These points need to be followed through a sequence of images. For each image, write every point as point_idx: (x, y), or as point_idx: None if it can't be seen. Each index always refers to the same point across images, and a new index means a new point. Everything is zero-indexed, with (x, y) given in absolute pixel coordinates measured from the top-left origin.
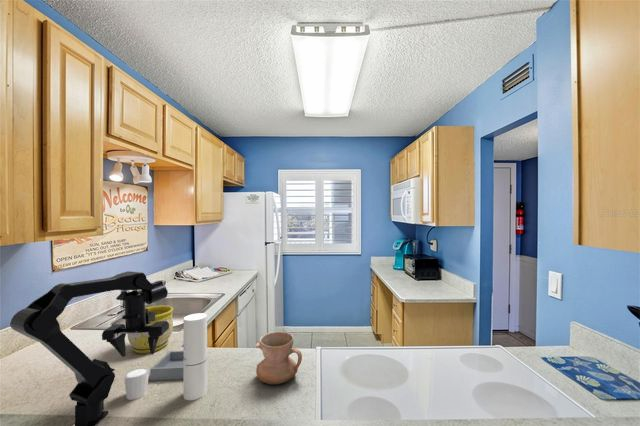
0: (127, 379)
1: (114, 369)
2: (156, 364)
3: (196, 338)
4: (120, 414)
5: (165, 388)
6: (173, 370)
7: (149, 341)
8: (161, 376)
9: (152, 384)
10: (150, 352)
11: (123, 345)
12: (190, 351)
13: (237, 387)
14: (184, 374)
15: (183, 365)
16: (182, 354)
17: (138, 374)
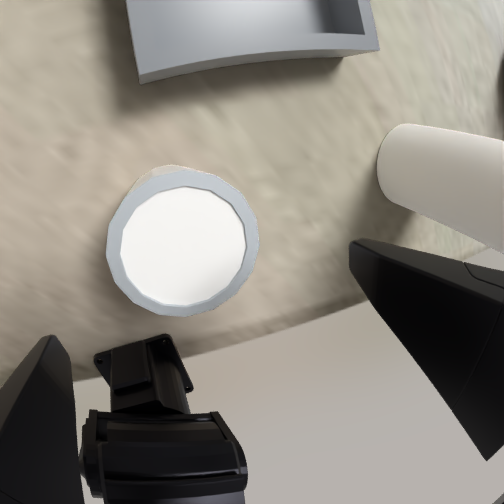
0: (182, 314)
1: (243, 477)
2: (137, 14)
3: None
4: (219, 324)
5: (279, 139)
6: (289, 52)
7: (470, 419)
8: (207, 66)
9: (182, 115)
10: (367, 295)
11: (31, 444)
12: None
13: (481, 129)
14: (457, 229)
15: (478, 228)
16: None
17: (210, 260)
